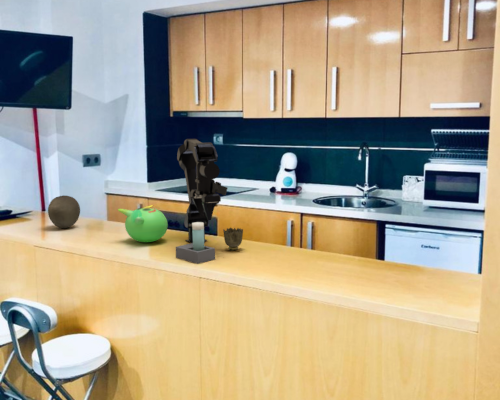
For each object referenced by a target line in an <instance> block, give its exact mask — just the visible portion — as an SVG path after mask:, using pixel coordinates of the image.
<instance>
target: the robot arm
mask: <svg viewBox="0 0 500 400" xmlns="http://www.w3.org/2000/svg"><path fill="white" fill-rule="evenodd" d="M176 155H177V156H176V160H177V161H178V164H179V167H180V168H181V169H182V171H184V175H185V176H184V177H185V183H186V191H187V196H188V202H189V203H188V204H189V205H188V206H187V209H186V213H185V217H184V221H183V223H184V227H185V228H187V229H188V231H187V233H188V235H187V236H188V237H187V238H188V239H185V242H187V243H193V233H192V223H194V222H203V223H204V228H205V227H209V221H211V220H212V218H213V215H214V210H215V207H216V206H217V205H218V204H220V202H221V201H222V199H221V198H222V197H221V196H226V195H227V192H228V188H229V187H227V186H223V185H222V183H221V182H219V181H215V179H217V178H218V177H219V175H220V168H219V166H218V165H217V164H216V163H215V162H218V153H217V150H216V147H215V145H213V143H212V142H201V141H199V140H198V138H186V139H184V141H183V144H181V145H180V146H179V147H178V149H177V154H176ZM205 233H206V232H205V230H204V243H205V242H208V239H206V238H205V237H206V234H205Z"/></svg>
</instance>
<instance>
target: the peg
mask: <svg viewBox="0 0 500 400" xmlns="http://www.w3.org/2000/svg"><path fill="white" fill-rule="evenodd" d="M204 231H205V227H204V223H203V222H194V223H192V233H193V250H195V251H201V250H205V248H204V246H205V242H204Z"/></svg>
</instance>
